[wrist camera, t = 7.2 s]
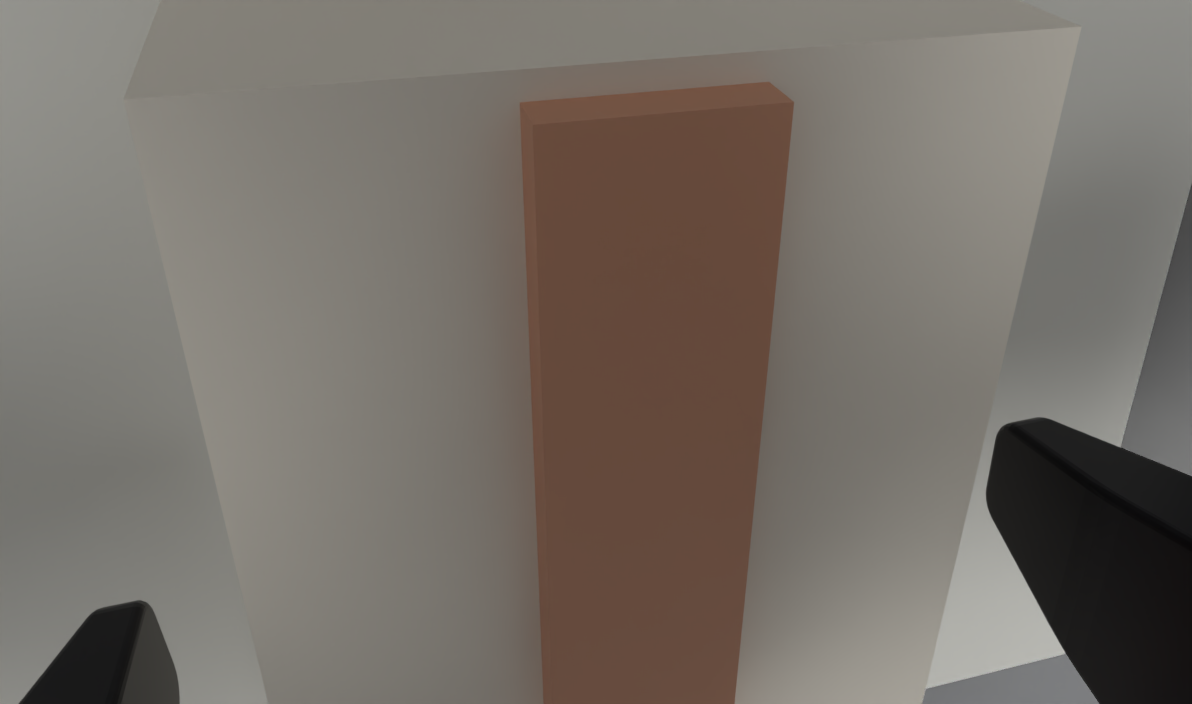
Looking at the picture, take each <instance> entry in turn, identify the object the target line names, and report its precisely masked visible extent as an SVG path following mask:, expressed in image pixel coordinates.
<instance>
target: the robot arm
mask: <svg viewBox="0 0 1192 704" xmlns="http://www.w3.org/2000/svg"><path fill="white" fill-rule="evenodd" d="M986 502H987V507H988V510H989V513H990V515H991V518H992V520H993V522H994V523H995V525H996V527H997V529H998V531H999V533H1000V535H1001V536H1002V538H1003V540H1004V542H1005V544H1006V546H1007V548H1008V549H1009V551H1010V553H1011V555H1012V557H1013V559H1014V561H1015V562H1016V564H1017V566H1018V568H1019V570H1020V572H1021V574H1022V575H1023V577H1024V579H1025V581H1026V583H1027V585H1028V587H1029V588H1030V590H1031V592H1032V594H1033V596H1034V598H1035V600H1036V601H1037V603H1038V605H1039V607H1040V609H1041V611H1042V613H1043V614H1044V616H1045V618H1046V620H1047V622H1048V624H1049V626H1050V627H1051V629H1052V631H1053V633H1054V634H1055V636H1056V638H1057V639H1058V641H1059V643H1060V645H1061V646H1062V648H1063V650H1064V651H1065V653H1066V654H1067V656H1068V657H1069V659H1070V660H1071V662H1072V664H1073V665H1074V667H1075V668H1076V670H1077V671H1078V673H1079V674H1080V676H1081V677H1082V679H1083V680H1084V682H1085V683H1086V684H1087V686H1088V687H1089V689H1090V690H1091V692H1092V693H1093V695H1094V696H1095V698H1096V699H1097V701H1098V702H1099V704H1192V476H1190V475H1187V474H1185V473H1182V472H1180V471H1177V470H1175V469H1172V468H1170V467H1167V466H1165V465H1162V464H1160V463H1157V462H1155V461H1153V460H1150V459H1148V458H1145V457H1143V456H1140V455H1138V454H1135V453H1133V452H1130V451H1128V450H1125V449H1123V448H1120V447H1118V446H1115V445H1113V444H1110V443H1108V442H1106V441H1103V440H1101V439H1098V438H1096V437H1093V436H1091V435H1088V434H1086V433H1083V432H1081V431H1078V430H1076V429H1073V428H1071V427H1068V426H1066V425H1063V424H1061V423H1058V422H1056V421H1054V420H1051V419H1048V418H1044V417H1035V418H1030V419H1025V420H1020V421H1016V422H1011V423H1007V424H1005V425H1003V426H1002V427H1001V428H1000V430H999V431H998V433H997V435H996V438H995V444H994V449H993V454H992V459H991V465H990V470H989V475H988V481H987V486H986ZM19 704H180V694H179V683H178V677H177V672H176V668H175V665H174V662H173V660H172V657H171V655H170V652H169V649H168V647H167V644H166V641H165V639H164V636H163V634H162V631H161V628H160V626H159V623H158V620H157V618H156V615H155V613H154V611H153V609H152V607H151V606H150V605H149V604H148V603H147V602H145V601H142V600H136V601H131V602H127V603H122V604H117V605H112V606H107V607H102V608H99V609H97V610H95V611H94V612H92V613H91V614H90V615H89V616H88V617H87V618H86V619H85V621H84V622H83V623H82V624H81V626H80V627H79V628H78V629H77V631H76V632H75V633H74V635H73V636H72V637H71V638H70V640H69V641H68V642H67V643H66V645H65V646H64V647H63V648H62V650H61V651H60V652H59V653H58V655H57V656H56V657H55V658H54V660H53V661H52V662H51V663H50V665H49V666H48V667H47V668H46V670H45V671H44V672H43V673H42V675H41V676H40V677H39V678H38V680H37V681H36V682H35V683H34V685H33V686H32V687H31V689H30V690H29V691H28V692H27V694H26V695H25V696H24V697H23V699H22V700H21V701H20V702H19Z"/></svg>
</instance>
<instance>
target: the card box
mask: <svg viewBox="0 0 1192 704" xmlns="http://www.w3.org/2000/svg"><path fill="white" fill-rule="evenodd" d="M1081 27H1082V26H1079V25H1077V24H1075V23H1072V22H1070V21H1067V20H1065V19H1063V18H1060V17H1058V16H1056V15H1053V14H1051V13H1049V12H1046V11H1044V10H1041V9H1039V8H1037V7H1034V6H1032V5H1030V4H1027V3H1025V2H1023V1H1020V0H161V1H160V3H159V6H158V9H157V11H156V14H155V17H154V19H153V22H152V25H151V27H150V30H149V33H148V35H147V38H146V41H145V43H144V46H143V49H142V51H141V54H140V57H139V59H138V62H137V65H136V67H135V70H134V73H133V75H132V78H131V81H130V83H129V86H128V89H127V91H126V94H125V97H124V99H123V100H124V105H125V109H126V113H127V117H128V121H129V125H130V130H131V134H132V138H133V142H134V146H135V150H136V155H137V159H138V163H139V167H140V171H141V175H142V180H143V184H144V188H145V192H146V196H147V200H148V205H149V209H150V213H151V217H152V221H153V225H154V230H155V234H156V238H157V242H158V246H159V250H160V255H161V259H162V263H163V267H164V271H165V275H166V280H167V284H168V288H169V292H170V296H171V300H172V305H173V309H174V313H175V317H176V321H177V325H178V330H179V334H180V338H181V342H182V346H183V350H184V355H185V359H186V363H187V367H188V371H189V375H190V380H191V384H192V388H193V392H194V396H195V400H196V405H197V409H198V413H199V417H200V421H201V425H202V430H203V434H204V438H205V442H206V446H207V450H208V455H209V459H210V463H211V467H212V471H213V475H214V480H215V484H216V488H217V492H218V496H219V500H220V505H221V509H222V513H223V517H224V521H225V525H226V530H227V534H228V538H229V542H230V546H231V550H232V555H233V559H234V563H235V567H236V571H237V575H238V580H239V584H240V588H241V592H242V596H243V600H244V605H245V609H246V613H247V617H248V621H249V625H250V630H251V634H252V638H253V642H254V646H255V650H256V655H257V659H258V663H259V667H260V671H261V675H262V680H263V684H264V688H265V692H266V696H267V700H268V704H922V702H923V698H924V693H925V689H926V685H927V681H928V676H929V672H930V668H931V664H932V659H933V655H934V651H935V647H936V642H937V638H938V634H939V630H940V625H941V621H942V617H943V613H944V609H945V604H946V600H947V596H948V592H949V587H950V583H951V579H952V575H953V570H954V566H955V562H956V558H957V553H958V549H959V545H960V541H961V536H962V532H963V528H964V524H965V519H966V515H967V511H968V507H969V502H970V498H971V494H972V490H973V485H974V481H975V477H976V473H977V469H978V464H979V460H980V456H981V452H982V447H983V443H984V439H985V435H986V430H987V426H988V422H989V418H990V413H991V409H992V405H993V401H994V396H995V392H996V388H997V384H998V379H999V375H1000V371H1001V367H1002V362H1003V358H1004V354H1005V350H1006V345H1007V341H1008V337H1009V333H1010V329H1011V324H1012V320H1013V316H1014V312H1015V307H1016V303H1017V299H1018V295H1019V290H1020V286H1021V282H1022V278H1023V273H1024V269H1025V265H1026V261H1027V256H1028V252H1029V248H1030V244H1031V239H1032V235H1033V231H1034V227H1035V222H1036V218H1037V214H1038V210H1039V205H1040V201H1041V197H1042V193H1043V189H1044V184H1045V180H1046V176H1047V172H1048V167H1049V163H1050V159H1051V155H1052V150H1053V146H1054V142H1055V138H1056V133H1057V129H1058V125H1059V121H1060V116H1061V112H1062V108H1063V104H1064V99H1065V95H1066V91H1067V87H1068V82H1069V78H1070V74H1071V70H1072V65H1073V61H1074V57H1075V53H1076V49H1077V44H1078V40H1079V36H1080V32H1081Z"/></svg>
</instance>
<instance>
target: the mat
mask: <svg viewBox="0 0 1192 704" xmlns="http://www.w3.org/2000/svg"><path fill="white" fill-rule="evenodd" d="M160 1H161V0H0V704H19V702H20V701H21V700H22V699H23V697H24V696H25V695H26V694H27V692H28V691H29V690H30V689H31V687H32V686H33V685H34V683H35V682H36V681H37V680H38V678H39V677H40V676H41V675H42V673H43V672H44V671H45V670H46V668H47V667H48V666H49V665H50V663H51V662H52V661H53V660H54V658H55V657H56V656H57V655H58V653H59V652H60V651H61V650H62V648H63V647H64V646H65V645H66V643H67V642H68V641H69V640H70V638H71V637H72V636H73V635H74V633H75V632H76V631H77V629H78V628H79V627H80V626H81V624H82V623H83V622H84V621H85V619H86V618H87V617H88V616H89V615H90V614H91V613H92V612H94V611H95V610H97V609H99V608H102V607H107V606H112V605H117V604H122V603H127V602H131V601H136V600H142V601H145V602H147V603H148V604H149V605H150V606H151V607H152V609H153V611H154V613H155V615H156V618H157V620H158V623H159V626H160V628H161V631H162V634H163V636H164V639H165V641H166V644H167V647H168V649H169V652H170V655H171V657H172V660H173V662H174V665H175V668H176V672H177V677H178V683H179V694H180V704H268V700H267V696H266V692H265V688H264V684H263V680H262V675H261V671H260V667H259V663H258V659H257V655H256V650H255V646H254V642H253V638H252V634H251V630H250V625H249V621H248V617H247V613H246V609H245V605H244V600H243V596H242V592H241V588H240V584H239V580H238V575H237V571H236V567H235V563H234V559H233V555H232V550H231V546H230V542H229V538H228V534H227V530H226V525H225V521H224V517H223V513H222V509H221V505H220V500H219V496H218V492H217V488H216V484H215V480H214V475H213V471H212V467H211V463H210V459H209V455H208V450H207V446H206V442H205V438H204V434H203V430H202V425H201V421H200V417H199V413H198V409H197V405H196V400H195V396H194V392H193V388H192V384H191V380H190V375H189V371H188V367H187V363H186V359H185V355H184V350H183V346H182V342H181V338H180V334H179V330H178V325H177V321H176V317H175V313H174V309H173V305H172V300H171V296H170V292H169V288H168V284H167V280H166V275H165V271H164V267H163V263H162V259H161V255H160V250H159V246H158V242H157V238H156V234H155V230H154V225H153V221H152V217H151V213H150V209H149V205H148V200H147V196H146V192H145V188H144V184H143V180H142V175H141V171H140V167H139V163H138V159H137V155H136V150H135V146H134V142H133V138H132V134H131V130H130V125H129V121H128V117H127V113H126V109H125V105H124V100H123V99H124V97H125V94H126V91H127V89H128V86H129V83H130V81H131V78H132V75H133V73H134V70H135V67H136V65H137V62H138V59H139V57H140V54H141V51H142V49H143V46H144V43H145V41H146V38H147V35H148V33H149V30H150V27H151V25H152V22H153V19H154V17H155V14H156V11H157V9H158V6H159V3H160ZM1020 1H1023V2H1025V3H1027V4H1030V5H1032V6H1034V7H1037V8H1039V9H1041V10H1044V11H1046V12H1049V13H1051V14H1053V15H1056V16H1058V17H1060V18H1063V19H1065V20H1067V21H1070V22H1072V23H1075V24H1077V25H1079V26H1082V27H1081V32H1080V36H1079V40H1078V44H1077V49H1076V53H1075V57H1074V61H1073V65H1072V70H1071V74H1070V78H1069V82H1068V87H1067V91H1066V95H1065V99H1064V104H1063V108H1062V112H1061V116H1060V121H1059V125H1058V129H1057V133H1056V138H1055V142H1054V146H1053V150H1052V155H1051V159H1050V163H1049V167H1048V172H1047V176H1046V180H1045V184H1044V189H1043V193H1042V197H1041V201H1040V205H1039V210H1038V214H1037V218H1036V222H1035V227H1034V231H1033V235H1032V239H1031V244H1030V248H1029V252H1028V256H1027V261H1026V265H1025V269H1024V273H1023V278H1022V282H1021V286H1020V290H1019V295H1018V299H1017V303H1016V307H1015V312H1014V316H1013V320H1012V324H1011V329H1010V333H1009V337H1008V341H1007V345H1006V350H1005V354H1004V358H1003V362H1002V367H1001V371H1000V375H999V379H998V384H997V388H996V392H995V396H994V401H993V405H992V409H991V413H990V418H989V422H988V426H987V430H986V435H985V439H984V443H983V447H982V452H981V456H980V460H979V464H978V469H977V473H976V477H975V481H974V485H973V490H972V494H971V498H970V502H969V507H968V511H967V515H966V519H965V524H964V528H963V532H962V536H961V541H960V545H959V549H958V553H957V558H956V562H955V566H954V570H953V575H952V579H951V583H950V587H949V592H948V596H947V600H946V604H945V609H944V613H943V617H942V621H941V625H940V630H939V634H938V638H937V642H936V647H935V651H934V655H933V659H932V664H931V668H930V672H929V676H928V681H927V685H926V689H927V688H931V687H935V686H939V685H943V684H947V683H951V682H955V681H959V680H963V679H967V678H971V677H975V676H979V675H983V674H987V673H991V672H995V671H999V670H1003V669H1007V668H1011V667H1015V666H1019V665H1023V664H1027V663H1031V662H1035V661H1039V660H1043V659H1047V658H1051V657H1055V656H1059V655H1063V654H1065V651H1064V650H1063V648H1062V646H1061V645H1060V643H1059V641H1058V639H1057V638H1056V636H1055V634H1054V633H1053V631H1052V629H1051V627H1050V626H1049V624H1048V622H1047V620H1046V618H1045V616H1044V614H1043V613H1042V611H1041V609H1040V607H1039V605H1038V603H1037V601H1036V600H1035V598H1034V596H1033V594H1032V592H1031V590H1030V588H1029V587H1028V585H1027V583H1026V581H1025V579H1024V577H1023V575H1022V574H1021V572H1020V570H1019V568H1018V566H1017V564H1016V562H1015V561H1014V559H1013V557H1012V555H1011V553H1010V551H1009V549H1008V548H1007V546H1006V544H1005V542H1004V540H1003V538H1002V536H1001V535H1000V533H999V531H998V529H997V527H996V525H995V523H994V522H993V520H992V518H991V515H990V513H989V510H988V507H987V502H986V486H987V481H988V475H989V470H990V465H991V459H992V454H993V449H994V444H995V438H996V435H997V433H998V431H999V430H1000V428H1001V427H1002V426H1003V425H1005V424H1007V423H1011V422H1016V421H1020V420H1025V419H1030V418H1035V417H1044V418H1048V419H1051V420H1054V421H1056V422H1058V423H1061V424H1063V425H1066V426H1068V427H1071V428H1073V429H1076V430H1078V431H1081V432H1083V433H1086V434H1088V435H1091V436H1093V437H1096V438H1098V439H1101V440H1103V441H1106V442H1108V443H1110V444H1113V445H1115V446H1118V447H1121V444H1122V440H1123V436H1124V433H1125V429H1126V425H1127V421H1128V418H1129V414H1130V410H1131V407H1132V403H1133V399H1134V395H1135V392H1136V388H1137V384H1138V381H1139V377H1140V373H1141V369H1142V366H1143V362H1144V358H1145V355H1146V351H1147V347H1148V343H1149V340H1150V336H1151V332H1152V329H1153V325H1154V321H1155V318H1156V314H1157V310H1158V306H1159V303H1160V299H1161V295H1162V292H1163V288H1164V284H1165V280H1166V277H1167V273H1168V269H1169V266H1170V262H1171V258H1172V254H1173V251H1174V247H1175V243H1176V240H1177V236H1178V232H1179V228H1180V225H1181V221H1182V217H1183V214H1184V210H1185V206H1186V202H1187V199H1188V195H1189V191H1190V188H1191V184H1192V0H1020Z"/></svg>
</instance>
